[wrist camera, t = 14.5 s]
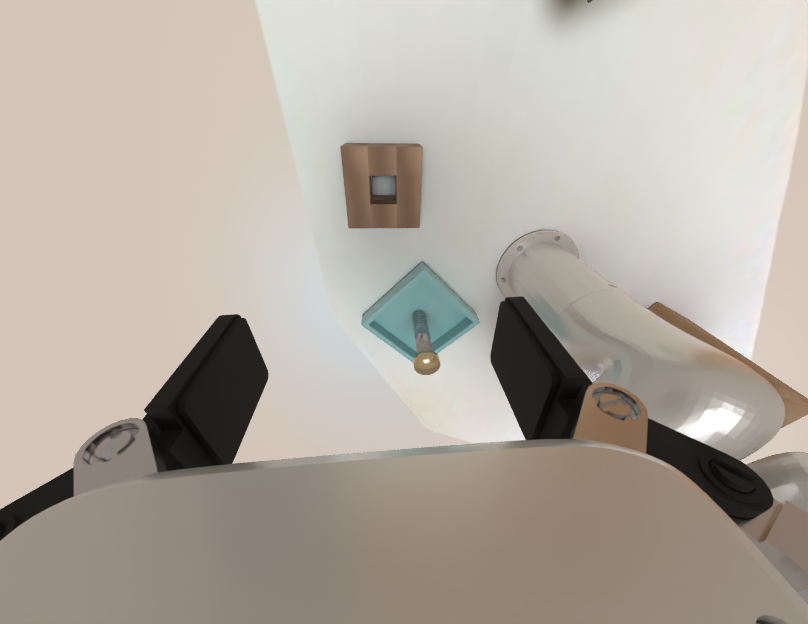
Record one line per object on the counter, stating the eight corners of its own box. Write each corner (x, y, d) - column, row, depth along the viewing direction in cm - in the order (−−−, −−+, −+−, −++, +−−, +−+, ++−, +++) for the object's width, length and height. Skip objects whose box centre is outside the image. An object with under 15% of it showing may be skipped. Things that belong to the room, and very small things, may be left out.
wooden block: (644, 356, 59) (744, 448, 42) (611, 340, 56) (705, 432, 40) (689, 320, 54) (822, 408, 38) (655, 300, 51) (784, 387, 35)
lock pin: (433, 315, 50) (445, 365, 40) (418, 327, 51) (426, 378, 41) (419, 303, 48) (428, 351, 38) (404, 315, 50) (408, 366, 40)
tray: (475, 312, 51) (479, 322, 48) (417, 355, 56) (418, 366, 53) (422, 261, 45) (424, 269, 42) (362, 314, 50) (361, 325, 47)
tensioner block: (418, 143, 36) (422, 147, 32) (416, 216, 41) (419, 227, 37) (346, 143, 36) (340, 146, 31) (352, 217, 41) (348, 228, 36)
